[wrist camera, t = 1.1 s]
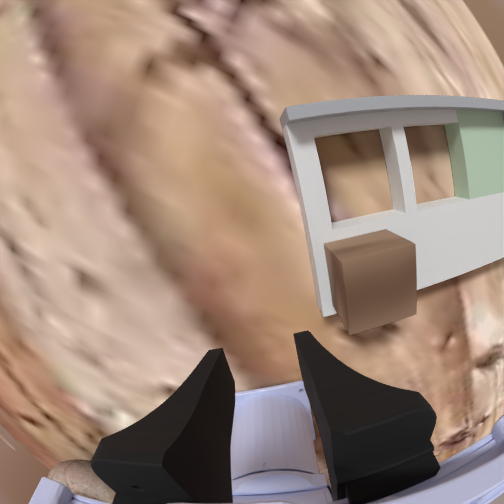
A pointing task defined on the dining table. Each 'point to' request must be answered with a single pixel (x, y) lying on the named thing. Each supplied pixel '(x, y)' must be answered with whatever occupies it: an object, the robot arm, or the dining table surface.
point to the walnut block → (372, 279)
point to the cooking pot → (82, 480)
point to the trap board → (407, 181)
